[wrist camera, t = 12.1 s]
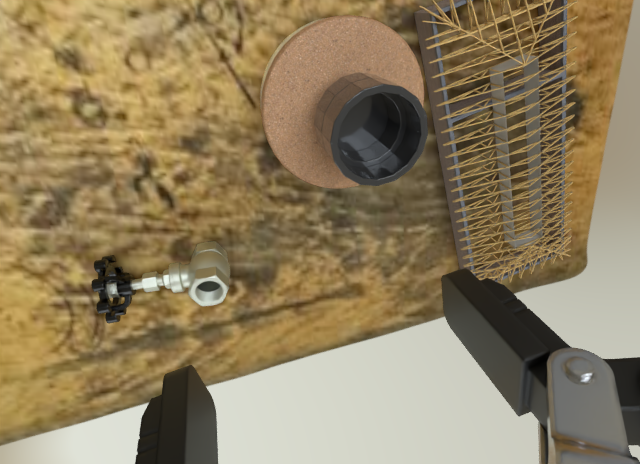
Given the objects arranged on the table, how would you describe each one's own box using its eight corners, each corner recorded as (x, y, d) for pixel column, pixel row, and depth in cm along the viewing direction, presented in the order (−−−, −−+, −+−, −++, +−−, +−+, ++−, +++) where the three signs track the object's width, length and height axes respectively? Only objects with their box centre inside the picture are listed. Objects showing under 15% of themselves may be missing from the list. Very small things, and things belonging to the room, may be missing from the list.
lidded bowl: (408, 70, 38) (470, 92, 29) (331, 175, 42) (365, 225, 33) (303, -23, 33) (339, -33, 23) (225, 108, 36) (229, 145, 27)
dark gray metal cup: (322, 169, 29) (341, 197, 25) (303, 85, 26) (321, 101, 22) (399, 146, 30) (430, 169, 26) (390, 61, 27) (424, 72, 22)
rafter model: (402, 5, 35) (435, 6, 30) (549, -55, 36) (606, -65, 30) (456, 284, 54) (481, 313, 49) (551, 242, 54) (587, 267, 49)
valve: (223, 225, 42) (102, 243, 40) (225, 259, 36) (84, 282, 34) (233, 275, 45) (122, 294, 43) (236, 314, 40) (108, 338, 38)
